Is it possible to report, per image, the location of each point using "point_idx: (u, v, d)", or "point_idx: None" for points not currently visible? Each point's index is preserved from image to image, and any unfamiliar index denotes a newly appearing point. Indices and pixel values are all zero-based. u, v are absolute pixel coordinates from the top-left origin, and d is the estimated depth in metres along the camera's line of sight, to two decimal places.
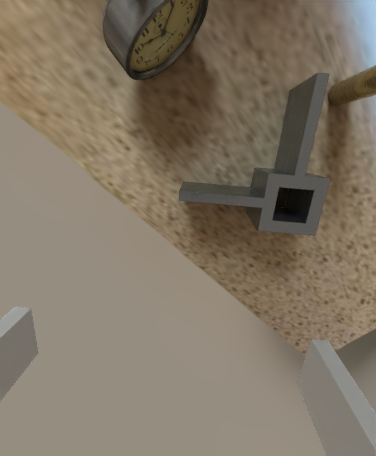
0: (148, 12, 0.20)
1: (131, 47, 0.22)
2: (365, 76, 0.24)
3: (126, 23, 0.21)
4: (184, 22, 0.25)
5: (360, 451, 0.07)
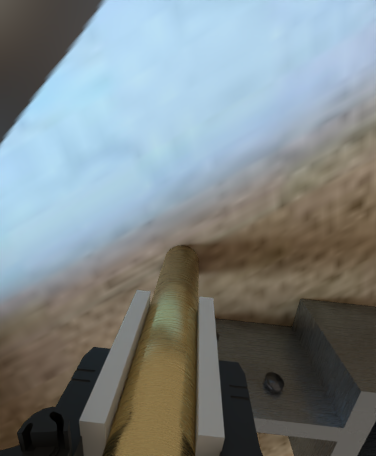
0: None
1: None
2: None
3: None
4: None
5: (197, 367, 0.09)
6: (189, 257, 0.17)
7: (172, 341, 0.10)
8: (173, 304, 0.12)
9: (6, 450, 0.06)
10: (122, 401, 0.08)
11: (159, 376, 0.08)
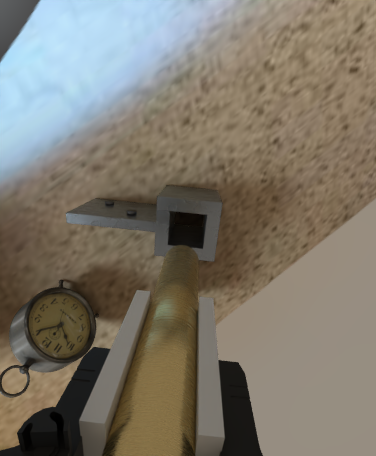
0: (41, 358, 0.29)
1: (66, 362, 0.31)
2: None
3: (51, 366, 0.30)
4: (54, 305, 0.35)
5: (197, 367, 0.09)
6: (189, 257, 0.17)
7: (172, 341, 0.10)
8: (173, 303, 0.12)
9: (5, 450, 0.06)
10: (122, 400, 0.08)
11: (159, 375, 0.08)
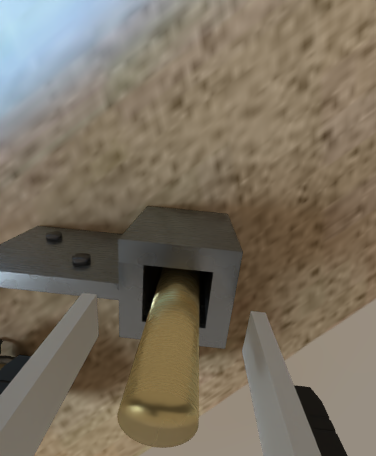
0: None
1: None
2: None
3: None
4: None
5: (268, 393, 0.09)
6: None
7: (179, 297, 0.12)
8: (179, 273, 0.15)
9: None
10: (144, 333, 0.11)
11: (171, 317, 0.11)
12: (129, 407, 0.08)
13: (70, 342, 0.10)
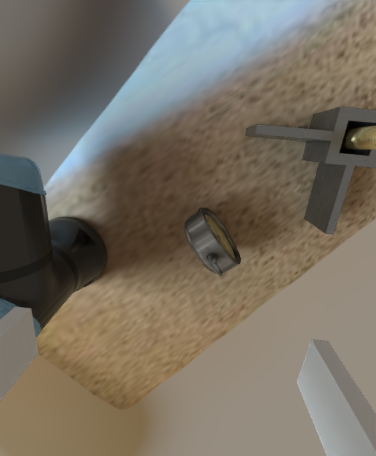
0: (224, 253, 0.34)
1: (236, 262, 0.36)
2: (352, 148, 0.33)
3: (226, 264, 0.36)
4: (210, 222, 0.40)
5: (360, 451, 0.07)
6: None
7: None
8: None
9: None
10: (372, 129, 0.28)
11: None
12: None
13: None
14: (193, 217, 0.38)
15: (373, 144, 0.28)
